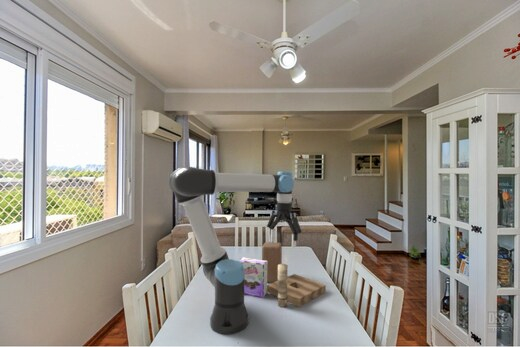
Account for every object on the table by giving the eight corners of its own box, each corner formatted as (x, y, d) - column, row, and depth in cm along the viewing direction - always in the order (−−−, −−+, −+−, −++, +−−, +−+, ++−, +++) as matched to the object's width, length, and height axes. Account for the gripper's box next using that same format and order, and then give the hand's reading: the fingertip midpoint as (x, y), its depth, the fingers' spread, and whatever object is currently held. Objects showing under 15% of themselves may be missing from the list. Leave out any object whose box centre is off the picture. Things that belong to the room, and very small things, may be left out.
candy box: (237, 293, 130) (237, 260, 130) (242, 288, 135) (242, 256, 135) (263, 298, 124) (263, 263, 125) (267, 293, 130) (267, 260, 130)
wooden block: (279, 284, 141) (279, 247, 141) (261, 282, 143) (261, 246, 143) (281, 277, 150) (281, 242, 150) (264, 275, 152) (264, 241, 152)
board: (298, 307, 116) (298, 299, 116) (266, 292, 131) (266, 285, 131) (325, 292, 132) (325, 285, 132) (294, 280, 146) (294, 273, 146)
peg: (282, 308, 115) (283, 268, 115) (275, 305, 118) (275, 265, 118) (289, 305, 118) (289, 265, 118) (281, 301, 121) (282, 263, 121)
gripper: (309, 204, 125) (308, 248, 125) (270, 199, 143) (269, 238, 142) (300, 204, 120) (298, 251, 120) (261, 200, 137) (259, 240, 137)
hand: (282, 244), depth 131 cm, fingers open, 13 cm apart
